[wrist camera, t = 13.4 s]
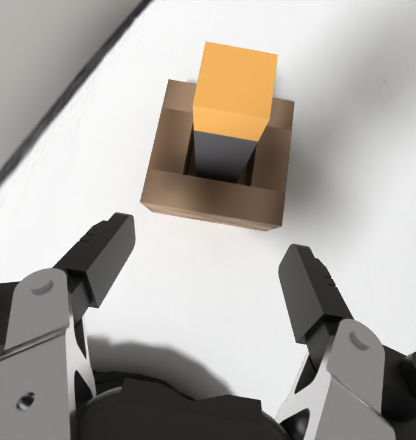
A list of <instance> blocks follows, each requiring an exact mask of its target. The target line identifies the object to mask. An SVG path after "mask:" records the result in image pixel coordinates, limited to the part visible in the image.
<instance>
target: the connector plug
mask: <svg viewBox="0 0 416 440" xmlns="http://www.w3.org/2000/svg"><path fill="white" fill-rule="evenodd" d="M277 57H278V55H276V54H271V53H266V52H260V51H255V50H249V49H244V48H238V47H233V46H227V45H222V44H217V43H211V42H206V43H205V47H204V52H203V57H202V62H201V67H200V72H199V77H198V82H197V87H196V91H195V96H194V101H193V123H194V143H195V163H196V177H200V178H206V179H212V180H217V181H223V182H229V183H235V184H236V183H237V181H238V179H239V177H240V175H241V173H242V171H243V169H244V167H245V165H246V164H247V162H248V160H249V158H250V156H251V154H252V152H253V150H254V148H255V146H256V145H257V143H258V141H259V139H260V137H261V135H262V133H263V131H264V129H265V127H266V125H267V124H268V122H269V120H270V113H271V105H272V97H273V89H274V81H275V73H276V65H277Z"/></svg>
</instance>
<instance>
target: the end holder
mask: <svg viewBox="0 0 416 440" xmlns="http://www.w3.org/2000/svg"><path fill="white" fill-rule="evenodd" d="M196 87H197V84H192V83H187V82H181V81H175V80H170V79H169V80H168V84H167V89H166V93H165V97H164V102H163V106H162V110H161V114H160V119H159V123H158V127H157V132H156V136H155V140H154V144H153V149H152V153H151V157H150V162H149V166H148V170H147V174H146V179H145V183H144V187H143V192H142V196H141V200H140V202H141V203H142V204H143V205H144V206H146V207H147V208H148V209H149V210H150V211H152V212H156V213H162V214H167V215H173V216H179V217H185V218H191V219H197V220H203V221H209V222H214V223H220V224H226V225H232V226H238V227H244V228H250V229H255V230H261V231H268V230H271V229H274V228H278V227H281V226H282V219H283V209H284V200H285V190H286V180H287V170H288V160H289V150H290V140H291V130H292V121H293V111H294V102H292V101H287V100H281V99H276V98H272V105H271V113H270V120H269V122H268V124H267V125H266V127H265V129H264V131H263V133H262V135H261V137H260V139H259V141H258V143H257V145H256V146H255V148H254V150H253V152H252V154H251V156H250V158H249V160H248V162H247V164H246V165H245V167H244V169H243V171H242V173H241V175H240V177H239V179H238V181H237V183H236V184H235V183H229V182H223V181H217V180H212V179H206V178H200V177H196V163H195V143H194V123H193V101H194V96H195V91H196Z"/></svg>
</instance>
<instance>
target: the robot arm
mask: <svg viewBox="0 0 416 440" xmlns="http://www.w3.org/2000/svg"><path fill="white" fill-rule="evenodd" d="M134 245H135V227H134V218H133V216H132V215H129V214H124V213H118V212H116V213H115V214H114V215H113V216H112V217H111V218H110V219H109V220H108V221H104V220H103V221H101V222H100V223H98V224H96V225H94V226H92V227H91V229H90V230H89V231H88V232H87V233H86V235H84V236H83V237H82V238H81V239H80V240H79V242H77V243H76V244H75V245H74V246H73V247H72V248H71V249H70V250H69V251H68V252H67V253H66V254H65V255H64V256H63V257H62V258H61V259H60V260H59V261H58V262H57V264H56V265H55V266H54V267H52V268H49V269H43V270H39V271H37V272H34V273H32V274H30V275H28V276H27V277H25V278H24V279H23V280H22V281H19V282H9V283H0V440H416V352H414V353H412V354H410V355H408V356H406V355H404V354H401V353H399V352H397V351H395V350H393V349H391V348H389V347H386V346H384V345H382V344H381V342H380V341H379V339H378V338H377V336H376V335H375V334H374V333H373V332H372V331H371V330H370V329H369V328H367V327H366V326H365V325H363V324H362V323H360V322H358V321H355V320H354V318H353V317H352V315H351V313H350V311H349V309H348V307H347V305H346V304H345V302H344V300H343V298H342V296H341V294H340V292H339V290H338V288H337V287H335V286H336V285H335V283H334V281H333V279H331V275H330V273H329V272H328V270H327V268H326V267H325V266H324V265H323V264H322V262H321V261H320V260H319V259H317V258H315V257H314V255H313V253H312V251H311V249H310V248H309V247H308V246H303V245H297V244H291V245H290V247H289V248H288V250H287V252H286V254H285V256H284V257H283V259H282V261H281V263H280V265H279V270H278V274H279V279H280V283H281V287H282V290H283V294H284V298H285V302H286V306H287V310H288V314H289V317H290V321H291V325H292V329H293V333H294V337H295V341H296V343H300V344H306V345H307V347H308V352H307V353H306V355H305V357H304V359H303V362H302V364H301V366H300V369H299V371H298V374H297V376H296V378H295V381H294V383H293V386H292V388H291V391H290V393H289V395H288V397H287V398H286V400H285V401H284V402H283V404H282V405H281V407H280V409H279V410H278V412H277V414H276V416H275V419H273V418H272V417H271V416H269V415H268V414H266V413H265V412H264V411H262V408H261V400H257V399H250V398H244V397H238V396H232V395H224V396H218V397H213V398H208V399H203V400H197V401H190V400H188V399H186V398H184V397H183V396H181V395H179V394H177V393H175V392H174V391H172V390H170V389H168V388H166V387H165V386H163V385H161V384H159V383H154V382H148V381H142V380H136V379H130V378H125V380H124V383H123V386H122V387H117V388H114V389H111V390H108V391H106V392H104V393H102V394H99V395H98V396H96V388H95V382H94V377H93V372H92V369H91V365H90V360H89V352H88V344H87V336H86V328H85V320H84V313H85V312H86V310H87V309H88V307H94V308H99V307H100V305H101V303H102V301H103V300H104V298H105V296H106V295H107V293H108V291H109V290H110V288H111V286H112V284H113V283H114V281H115V279H116V278H117V276H118V274H119V272H120V271H121V269H122V267H123V266H124V264H125V262H126V261H127V259H128V257H129V255H130V254H131V252H132V250H133V248H134Z"/></svg>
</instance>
